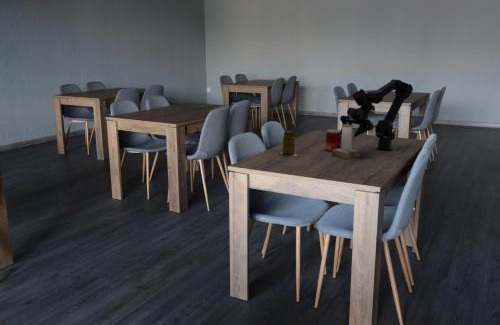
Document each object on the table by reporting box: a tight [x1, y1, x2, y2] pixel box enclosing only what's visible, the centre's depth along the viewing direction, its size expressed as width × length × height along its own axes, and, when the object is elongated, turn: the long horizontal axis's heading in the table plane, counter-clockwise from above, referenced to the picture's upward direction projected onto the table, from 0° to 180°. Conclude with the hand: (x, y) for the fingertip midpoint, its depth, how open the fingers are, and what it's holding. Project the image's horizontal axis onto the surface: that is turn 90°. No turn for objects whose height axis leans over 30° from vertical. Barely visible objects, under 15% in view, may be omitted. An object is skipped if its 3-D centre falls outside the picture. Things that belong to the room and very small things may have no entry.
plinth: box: [331, 148, 361, 160], centre depth 236 cm, size 10×10×3 cm
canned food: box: [325, 128, 342, 153], centre depth 248 cm, size 8×8×11 cm
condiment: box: [279, 130, 299, 157], centre depth 237 cm, size 7×8×12 cm
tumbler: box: [340, 123, 354, 151], centre depth 234 cm, size 5×5×13 cm
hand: (347, 135), depth 234 cm, fingers open, 9 cm apart
